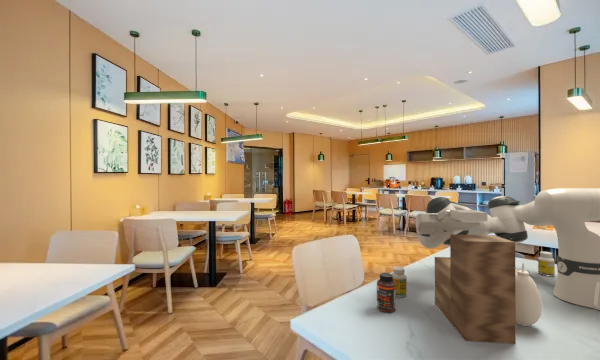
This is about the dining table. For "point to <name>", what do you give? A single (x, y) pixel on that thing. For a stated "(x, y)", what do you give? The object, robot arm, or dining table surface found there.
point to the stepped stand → (478, 287)
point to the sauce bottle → (527, 299)
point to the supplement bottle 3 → (546, 264)
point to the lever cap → (468, 215)
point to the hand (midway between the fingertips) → (455, 212)
